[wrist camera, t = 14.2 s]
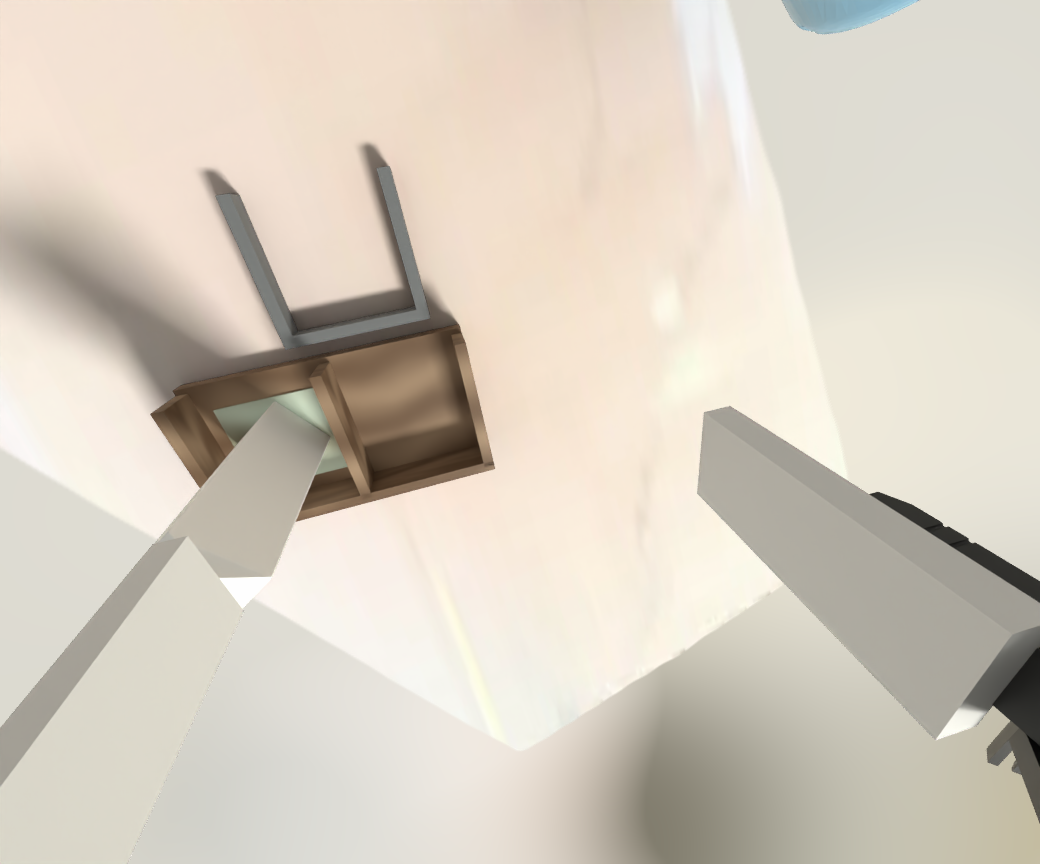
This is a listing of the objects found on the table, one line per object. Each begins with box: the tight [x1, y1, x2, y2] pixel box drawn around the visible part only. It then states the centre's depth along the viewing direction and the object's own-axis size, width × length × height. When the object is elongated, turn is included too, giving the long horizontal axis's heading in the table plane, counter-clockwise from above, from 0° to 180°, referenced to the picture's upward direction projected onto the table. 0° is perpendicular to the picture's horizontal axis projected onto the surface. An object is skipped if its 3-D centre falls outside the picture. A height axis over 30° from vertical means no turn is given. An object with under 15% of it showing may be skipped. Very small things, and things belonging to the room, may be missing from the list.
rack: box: [150, 324, 495, 521], centre depth 40 cm, size 14×26×6 cm, turn 100°
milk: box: [154, 401, 330, 608], centre depth 30 cm, size 6×6×22 cm
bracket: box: [216, 166, 430, 350], centre depth 35 cm, size 12×13×2 cm
